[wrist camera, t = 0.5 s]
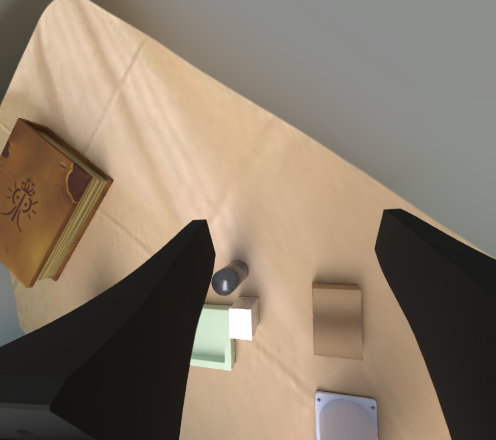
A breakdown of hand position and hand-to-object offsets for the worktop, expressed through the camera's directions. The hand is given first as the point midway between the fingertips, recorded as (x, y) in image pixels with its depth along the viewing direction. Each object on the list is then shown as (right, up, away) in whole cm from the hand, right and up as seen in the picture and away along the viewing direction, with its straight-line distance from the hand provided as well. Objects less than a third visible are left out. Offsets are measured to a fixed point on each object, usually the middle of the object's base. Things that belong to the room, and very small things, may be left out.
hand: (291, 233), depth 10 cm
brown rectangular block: (+11, -13, +24) cm, 29 cm away
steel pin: (-3, -7, +27) cm, 28 cm away
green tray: (-8, -17, +28) cm, 34 cm away
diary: (-39, +4, +36) cm, 54 cm away
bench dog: (-2, -13, +27) cm, 30 cm away
